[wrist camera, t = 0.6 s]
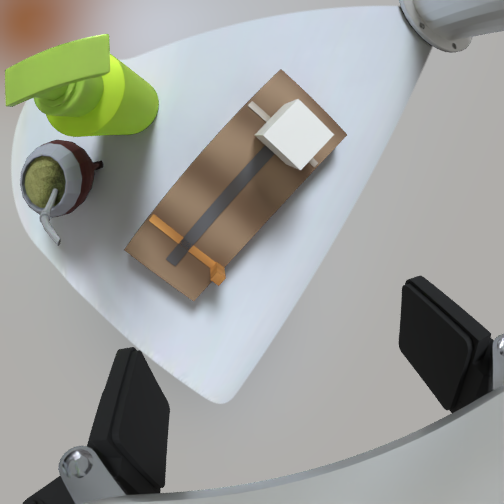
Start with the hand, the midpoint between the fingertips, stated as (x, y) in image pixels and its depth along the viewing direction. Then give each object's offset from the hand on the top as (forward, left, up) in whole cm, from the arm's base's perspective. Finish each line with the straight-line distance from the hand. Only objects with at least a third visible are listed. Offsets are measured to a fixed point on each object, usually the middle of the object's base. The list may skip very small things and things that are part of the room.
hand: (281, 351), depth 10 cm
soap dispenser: (-1, -14, -24) cm, 28 cm away
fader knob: (-8, -1, -21) cm, 22 cm away
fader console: (-1, -1, -24) cm, 24 cm away
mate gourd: (+8, -15, -24) cm, 30 cm away
